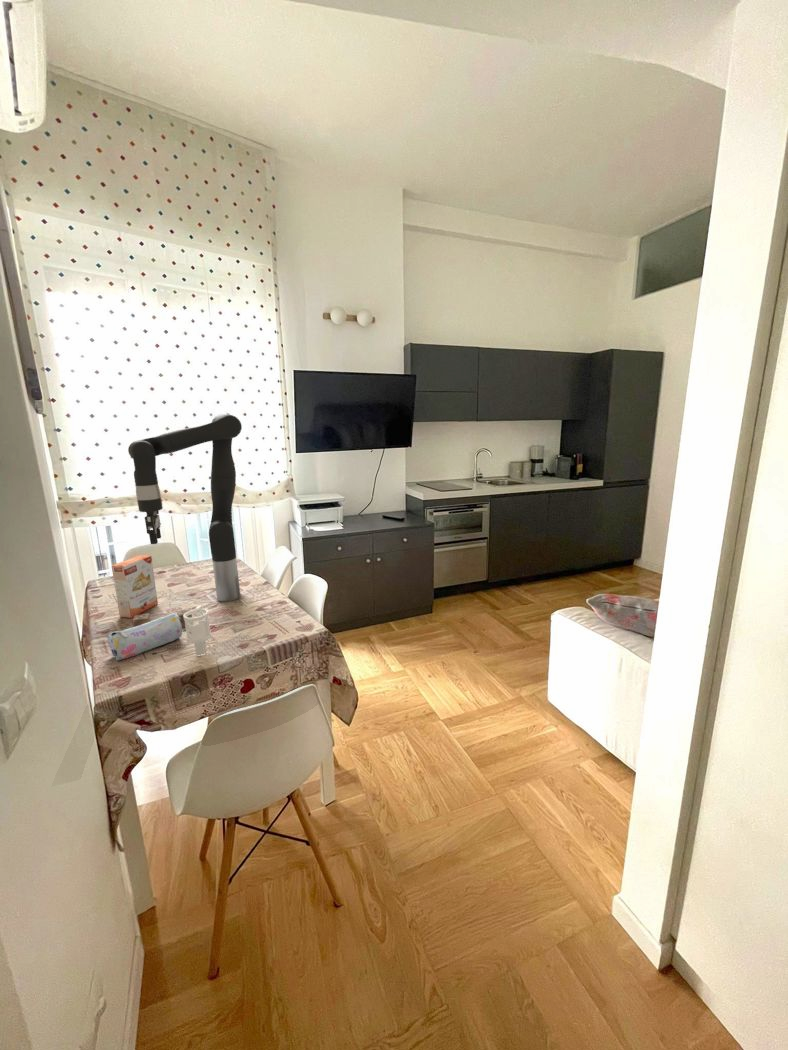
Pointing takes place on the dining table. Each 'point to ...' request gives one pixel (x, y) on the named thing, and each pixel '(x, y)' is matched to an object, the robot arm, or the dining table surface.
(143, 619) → the three-dot block
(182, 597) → the dining table surface
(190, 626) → the strainer
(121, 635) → the pencil case
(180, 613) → the two-dot block
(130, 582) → the cracker box
